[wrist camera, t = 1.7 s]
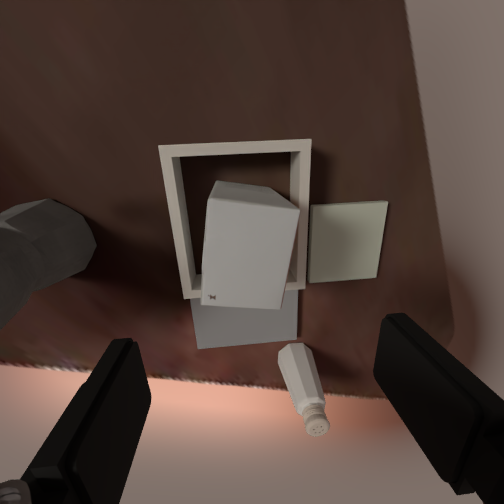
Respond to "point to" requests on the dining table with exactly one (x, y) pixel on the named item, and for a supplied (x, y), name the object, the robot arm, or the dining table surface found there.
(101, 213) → the dining table surface
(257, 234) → the small box
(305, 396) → the pepper shaker
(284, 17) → the dining table surface
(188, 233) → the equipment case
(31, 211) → the coffeepot
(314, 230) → the rubber mat
